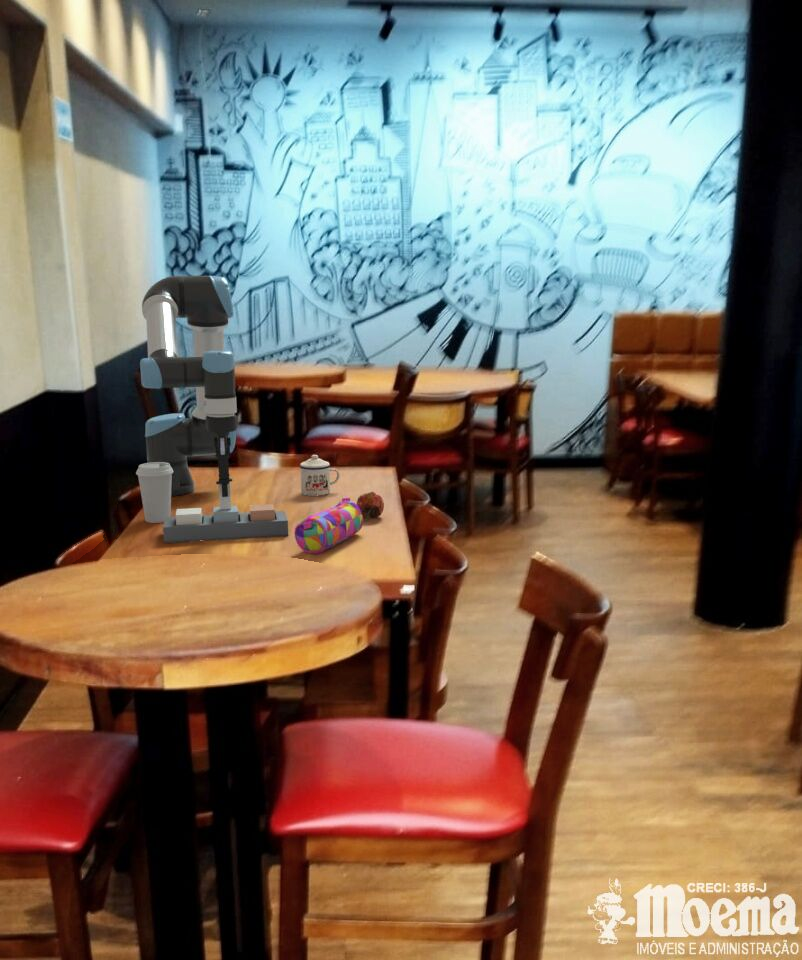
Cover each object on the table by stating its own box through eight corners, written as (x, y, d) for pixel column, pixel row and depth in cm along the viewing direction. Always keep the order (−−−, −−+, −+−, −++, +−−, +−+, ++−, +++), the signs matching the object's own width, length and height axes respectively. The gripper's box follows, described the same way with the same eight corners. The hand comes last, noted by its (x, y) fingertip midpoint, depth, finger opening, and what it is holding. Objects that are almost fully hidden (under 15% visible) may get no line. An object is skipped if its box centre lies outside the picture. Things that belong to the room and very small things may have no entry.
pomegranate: (382, 529, 228) (392, 500, 234) (373, 512, 223) (383, 482, 229) (357, 529, 231) (367, 500, 237) (348, 512, 226) (358, 483, 232)
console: (166, 532, 218) (165, 517, 217) (285, 525, 224) (284, 510, 223) (164, 543, 208) (163, 527, 207) (288, 536, 214) (287, 520, 213)
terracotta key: (250, 522, 220) (249, 505, 219) (274, 521, 221) (273, 504, 220) (251, 528, 214) (250, 511, 213) (275, 527, 215) (274, 509, 214)
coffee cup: (166, 525, 224) (162, 469, 221) (132, 523, 226) (128, 467, 223) (182, 516, 233) (179, 462, 230) (150, 514, 235) (146, 460, 232)
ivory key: (177, 526, 216) (176, 509, 215) (202, 525, 217) (201, 507, 216) (176, 532, 210) (175, 515, 209) (201, 531, 211) (200, 513, 211)
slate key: (214, 524, 218) (213, 507, 217) (238, 522, 219) (237, 505, 218) (214, 530, 212) (213, 512, 211) (238, 529, 213) (238, 511, 212)
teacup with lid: (303, 497, 254) (302, 459, 251) (298, 490, 262) (297, 453, 260) (342, 495, 257) (342, 456, 254) (336, 488, 266) (336, 451, 263)
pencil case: (331, 530, 220) (330, 495, 218) (365, 533, 217) (365, 498, 215) (292, 554, 200) (291, 516, 198) (329, 558, 197) (328, 520, 195)
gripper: (205, 411, 215) (210, 503, 220) (204, 419, 202) (209, 515, 207) (236, 410, 216) (240, 501, 221) (237, 418, 204) (241, 514, 209)
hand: (225, 508), depth 214 cm, fingers closed
